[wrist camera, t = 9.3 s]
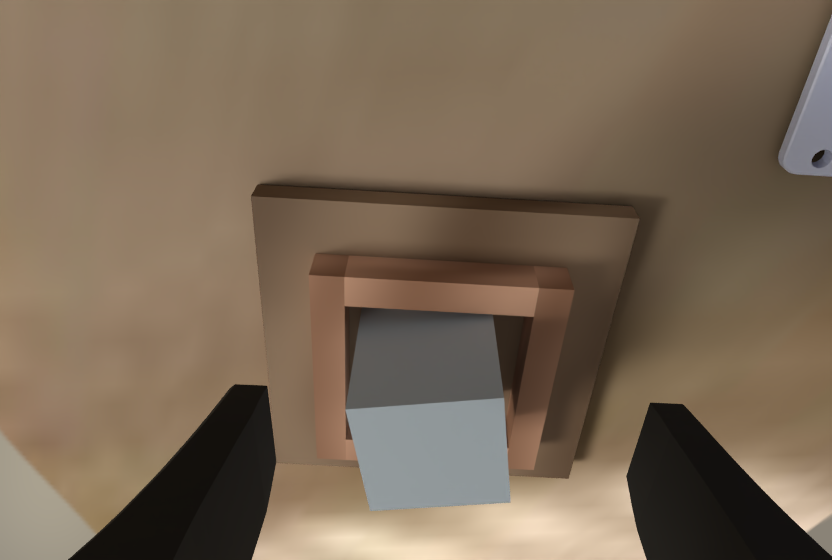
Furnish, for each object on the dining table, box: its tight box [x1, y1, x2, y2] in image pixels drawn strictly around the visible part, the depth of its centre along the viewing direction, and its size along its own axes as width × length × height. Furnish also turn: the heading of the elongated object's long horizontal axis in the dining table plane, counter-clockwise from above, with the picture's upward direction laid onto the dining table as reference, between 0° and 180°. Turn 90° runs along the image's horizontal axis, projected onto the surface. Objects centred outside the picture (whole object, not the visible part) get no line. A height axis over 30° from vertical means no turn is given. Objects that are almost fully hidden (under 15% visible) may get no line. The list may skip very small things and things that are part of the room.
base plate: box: [251, 185, 640, 479], centre depth 21 cm, size 11×11×2 cm
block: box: [345, 307, 510, 511], centre depth 19 cm, size 4×4×4 cm
